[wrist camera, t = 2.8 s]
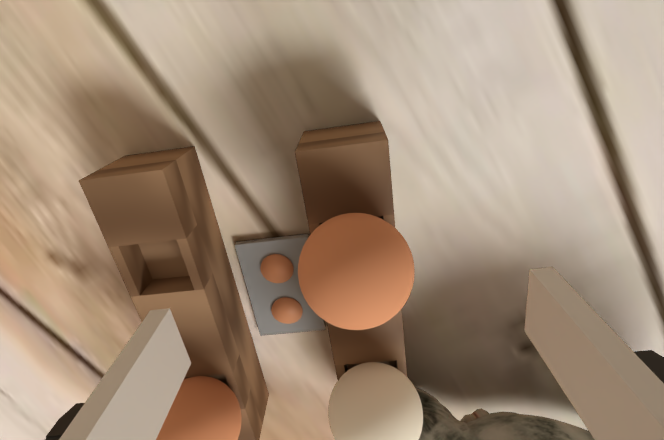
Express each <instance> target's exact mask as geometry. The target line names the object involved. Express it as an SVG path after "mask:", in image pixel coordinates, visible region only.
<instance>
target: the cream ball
mask: <svg viewBox="0 0 664 440" xmlns="http://www.w3.org/2000/svg"><path fill="white" fill-rule="evenodd" d="M328 418H329V424H330V428H331V431H332V434H333V437H334V439H335V440H419V438H420V435H421V431H422V426H423V410H422V404H421V400H420V397H419V395H418V392H417V390H416V389H415V387H414V385H413V384H412V382H411V381H410V380H409V379H408V378H407V377H406V376H405V375H404V374H403V373H402V372H401V371H399V370H398V369H396V368H394V367H393V366H390V365H387V364H384V363H380V362H367V363H362V364H359V365H357V366H355V367H353V368H351V369H349V370H348V371H347V372H345V373H344V374H343V375H342V376H341V377H340V379H339V380H338V382H337V383H336V384H335V386H334V389H333V391H332V393H331V397H330V400H329V407H328Z"/></svg>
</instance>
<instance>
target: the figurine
mask: <svg viewBox="0 0 664 440" xmlns="http://www.w3.org/2000/svg"><path fill="white" fill-rule="evenodd" d="M415 389H416V390H417V392H418V395H419V397H420V400H421V404H422V410H423V426H422V431H421V435H420V438H419V440H595V439H594V438H593V436H592V435H591V433H590V432H589V431H587V430H585V429H582V428H579V427H576V426H574V425H571V424H567V423H564V422H561V421H558V420H554V419H550V418H545V417H540V416H533V415H523V414H517V413H513V412H497V413H490V414H489V413H488V412H487V411H485V410H483V409H477V410H476V411H474V412H473V413H472V414H469V415H465V416H464V417H463V418H462V419H461V421H459V420H457V419H456V418H455V417H454V416H453V415H452V414H451V413H450V411H449V410H448V409H447V408H446V407H444V406H443V405H442V404H440V403H439V401H438V400H437V399H435V398H434V397H433V396H431V395H430V394H429V393H427V392H425V391H423V390H421V389H418V388H415Z"/></svg>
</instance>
